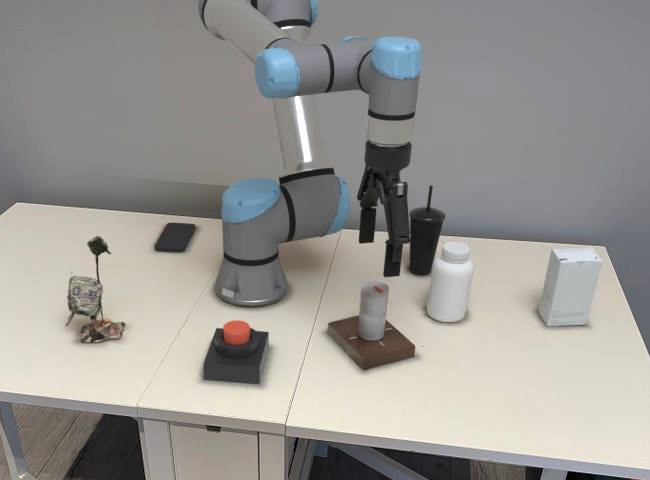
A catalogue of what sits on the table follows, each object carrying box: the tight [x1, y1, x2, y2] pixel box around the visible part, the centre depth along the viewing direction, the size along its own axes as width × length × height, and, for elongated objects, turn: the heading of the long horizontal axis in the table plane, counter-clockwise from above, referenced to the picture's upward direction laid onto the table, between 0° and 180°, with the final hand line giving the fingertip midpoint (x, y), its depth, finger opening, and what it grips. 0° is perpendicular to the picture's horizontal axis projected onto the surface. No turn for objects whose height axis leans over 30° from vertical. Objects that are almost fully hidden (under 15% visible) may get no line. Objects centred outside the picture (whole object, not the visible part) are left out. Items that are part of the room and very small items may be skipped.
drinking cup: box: [408, 185, 446, 277], centre depth 167 cm, size 8×8×20 cm
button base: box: [203, 327, 270, 385], centre depth 139 cm, size 12×10×6 cm
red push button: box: [222, 319, 251, 345], centre depth 137 cm, size 5×5×2 cm
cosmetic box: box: [538, 246, 603, 327], centre depth 151 cm, size 8×6×15 cm
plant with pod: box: [64, 235, 126, 343], centre depth 144 cm, size 8×11×20 cm
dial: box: [358, 280, 390, 341], centre depth 142 cm, size 5×5×10 cm
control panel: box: [327, 314, 416, 371], centre depth 146 cm, size 14×11×3 cm
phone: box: [153, 222, 197, 253], centre depth 185 cm, size 7×1×15 cm
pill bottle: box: [426, 241, 475, 323], centre depth 152 cm, size 8×8×15 cm
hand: (378, 258), depth 136 cm, fingers open, 13 cm apart
